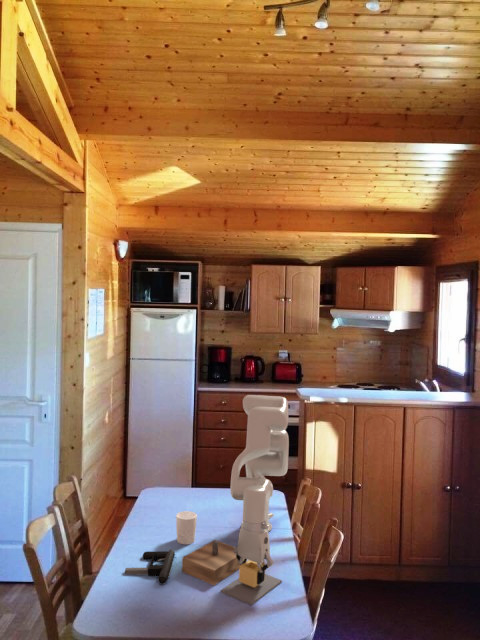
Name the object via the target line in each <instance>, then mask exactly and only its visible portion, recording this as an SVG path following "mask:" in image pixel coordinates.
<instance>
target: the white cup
mask: <svg viewBox="0 0 480 640" xmlns="http://www.w3.org/2000/svg"><path fill="white" fill-rule="evenodd" d="M175 518H176V520H175V521H176V541H177V543H178V544H180V545H191V544H194V543H195V541H196V539H195V538H196V532H197V531H196V530H197V519H198V515H197V513H195V512H193V511H186V510H185V511H180V512H178V513H177V514H176V517H175Z"/></svg>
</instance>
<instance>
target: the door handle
mask: <svg viewBox="0 0 480 640" xmlns="http://www.w3.org/2000/svg"><path fill="white" fill-rule="evenodd" d="M175 556H176V553H175V551H174V550H173V549H168V550H167V551H166V550H161V551H160V550H159V551H157V550H155V551H154V550H152V551H145V552H143V553H142V558H143V560H147V561H148V560H151V561H150V563H149V565H148V567H126V568H125V569H124V574H125V575H134V576H135V575H137V576H139V575H140V576H148V577H158V583H159V585H165V584H166V582H167V581H168V580H170V576H171V575H170V574H171V571H172V567H173V564H174V563H173V561H174V559H175V558H177V557H175ZM155 560H156V562H157V563H160V562H163V563H162V564H155Z"/></svg>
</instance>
